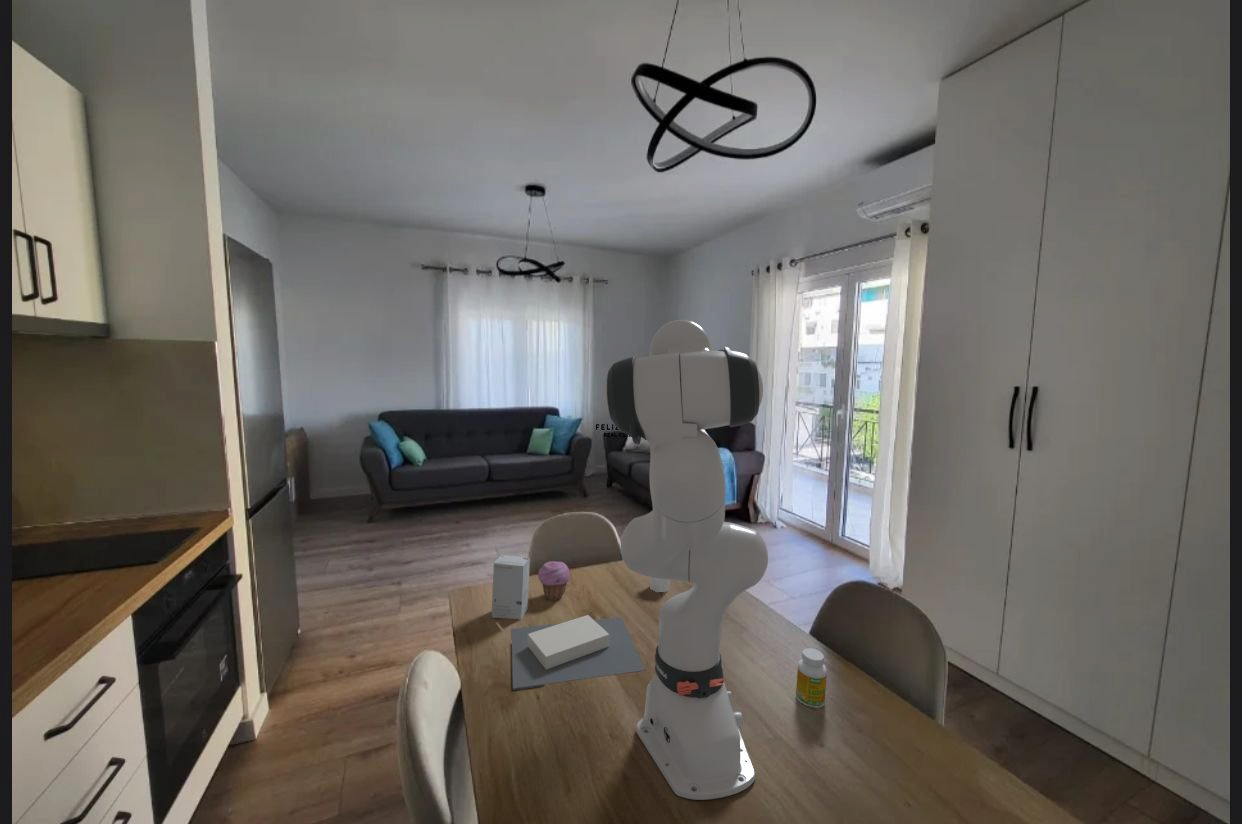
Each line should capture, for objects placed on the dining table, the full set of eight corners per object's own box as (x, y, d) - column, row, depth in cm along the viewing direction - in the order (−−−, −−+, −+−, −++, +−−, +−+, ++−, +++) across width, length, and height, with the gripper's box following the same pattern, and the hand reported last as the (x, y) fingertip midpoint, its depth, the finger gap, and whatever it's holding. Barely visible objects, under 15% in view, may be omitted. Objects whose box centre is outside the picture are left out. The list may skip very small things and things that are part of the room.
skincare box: (491, 618, 123) (490, 563, 121) (499, 606, 129) (499, 553, 127) (522, 621, 122) (522, 565, 121) (530, 609, 128) (530, 556, 127)
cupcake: (534, 593, 137) (534, 559, 136) (562, 586, 141) (563, 554, 140) (544, 607, 129) (544, 571, 128) (574, 600, 133) (574, 566, 132)
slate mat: (645, 671, 103) (645, 670, 103) (512, 690, 97) (512, 688, 97) (621, 618, 124) (621, 616, 124) (511, 630, 118) (511, 628, 118)
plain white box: (588, 614, 119) (527, 633, 110) (609, 634, 111) (546, 656, 102) (587, 626, 119) (527, 647, 111) (609, 647, 111) (545, 670, 102)
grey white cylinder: (672, 594, 138) (672, 571, 137) (648, 593, 138) (648, 570, 137) (670, 583, 145) (670, 561, 144) (647, 582, 145) (648, 560, 144)
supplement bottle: (807, 711, 92) (810, 664, 91) (790, 692, 98) (793, 648, 97) (830, 706, 94) (834, 660, 93) (812, 688, 99) (815, 644, 98)
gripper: (657, 429, 125) (654, 481, 125) (689, 439, 105) (684, 501, 106) (680, 430, 126) (676, 482, 127) (715, 440, 107) (710, 501, 107)
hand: (680, 490), depth 116 cm, fingers closed
